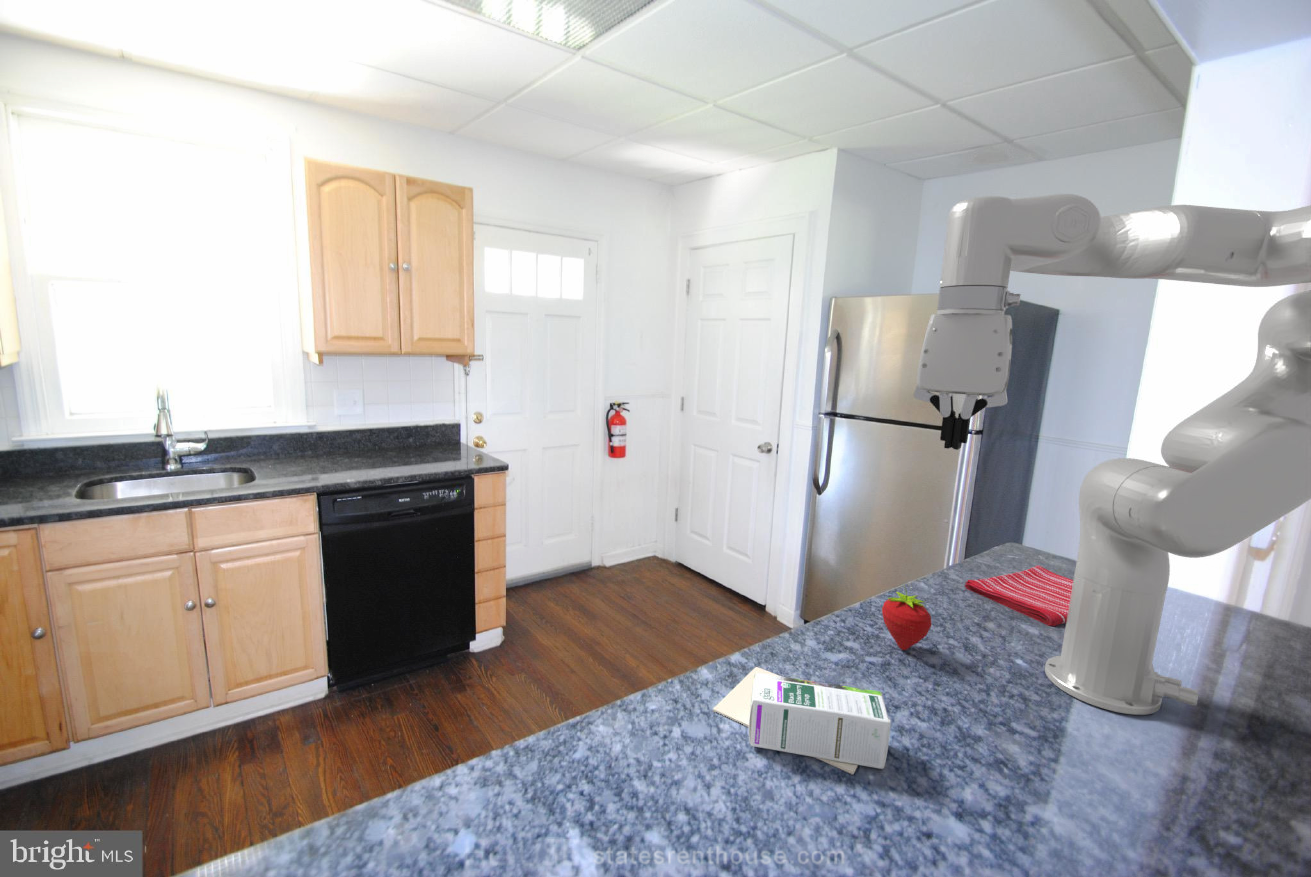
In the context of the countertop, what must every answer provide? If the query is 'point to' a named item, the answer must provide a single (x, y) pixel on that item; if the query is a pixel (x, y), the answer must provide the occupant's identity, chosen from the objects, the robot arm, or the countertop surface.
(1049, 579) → the dish towel
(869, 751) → the syrup box
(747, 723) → the cream mat
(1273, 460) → the robot arm
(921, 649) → the countertop surface
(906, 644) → the strawberry
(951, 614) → the countertop surface
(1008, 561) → the countertop surface
